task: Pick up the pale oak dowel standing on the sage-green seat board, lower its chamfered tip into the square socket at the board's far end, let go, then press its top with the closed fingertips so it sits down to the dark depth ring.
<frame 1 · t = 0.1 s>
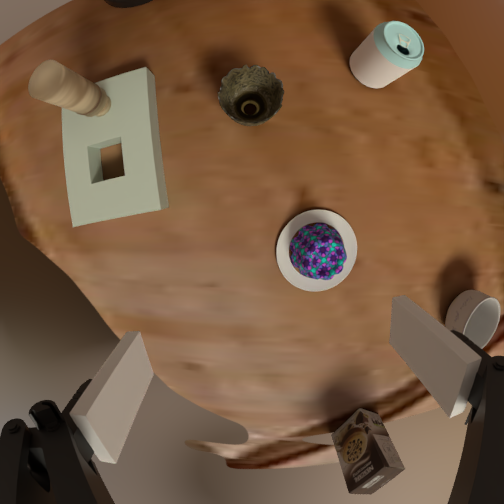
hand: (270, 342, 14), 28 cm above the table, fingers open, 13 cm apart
can: (368, 69, 36), on the table
cup: (250, 109, 37), on the table
peg: (101, 105, 33), point 4 cm above the table, touching board
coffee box: (354, 424, 51), on the table
pudding: (316, 250, 42), on the table
teacup: (455, 317, 46), on the table
board: (115, 148, 38), on the table
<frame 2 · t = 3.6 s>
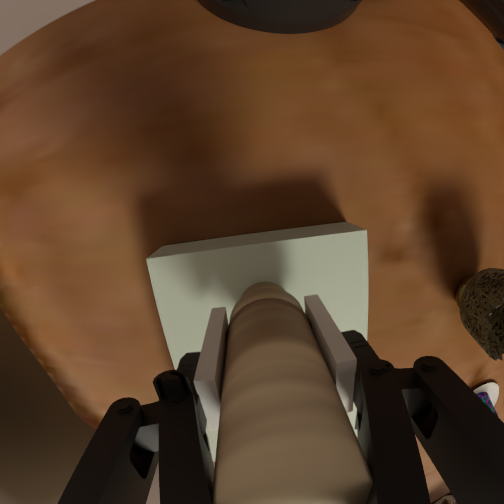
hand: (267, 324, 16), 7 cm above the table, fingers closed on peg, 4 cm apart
cup: (464, 289, 23), on the table
peg: (264, 305, 19), point 4 cm above the table, touching board, gripper
pudding: (466, 412, 28), on the table
board: (269, 350, 24), on the table
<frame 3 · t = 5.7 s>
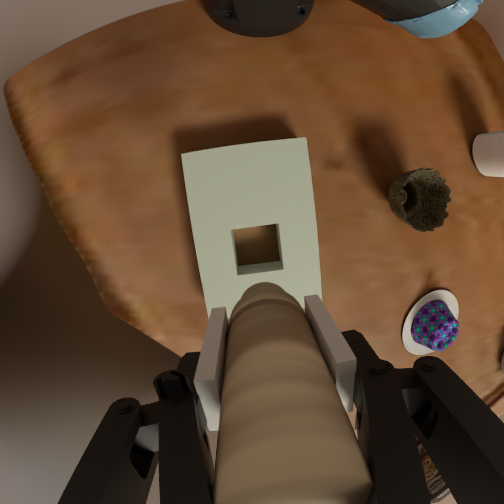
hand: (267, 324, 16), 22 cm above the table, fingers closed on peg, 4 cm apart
can: (482, 154, 35), on the table
cup: (396, 195, 37), on the table
peg: (264, 305, 19), point 19 cm above the table, touching gripper
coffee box: (422, 447, 50), on the table
pudding: (429, 321, 42), on the table
board: (254, 227, 37), on the table
when the fingers open (6 cm above the table, at t = 7.8 s): peg drops 3 cm, resting in board.
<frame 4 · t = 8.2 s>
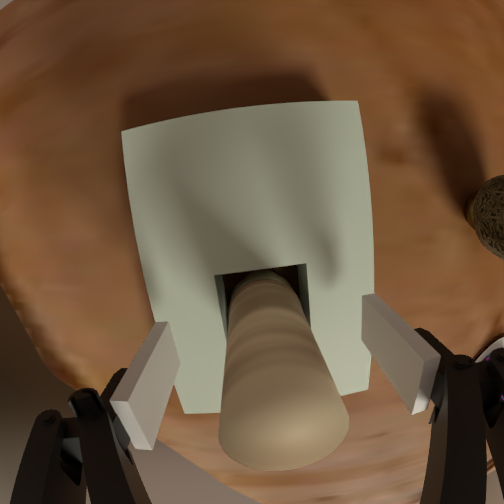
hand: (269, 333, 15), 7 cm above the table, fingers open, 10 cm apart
cup: (474, 209, 21), on the table
peg: (261, 289, 22), resting in board
pudding: (485, 374, 26), on the table
board: (258, 263, 21), on the table
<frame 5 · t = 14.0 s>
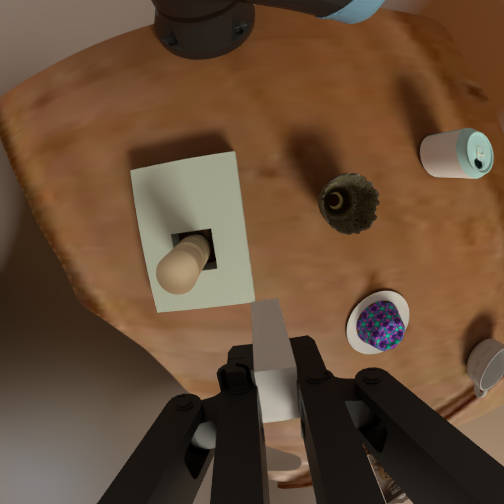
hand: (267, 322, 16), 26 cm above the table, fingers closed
can: (433, 156, 40), on the table
cup: (333, 200, 41), on the table
peg: (198, 245, 42), resting in board
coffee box: (387, 446, 54), on the table
pudding: (377, 321, 46), on the table
teacup: (474, 359, 49), on the table
board: (196, 231, 42), on the table
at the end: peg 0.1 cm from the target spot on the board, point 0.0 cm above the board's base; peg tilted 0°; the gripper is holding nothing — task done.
